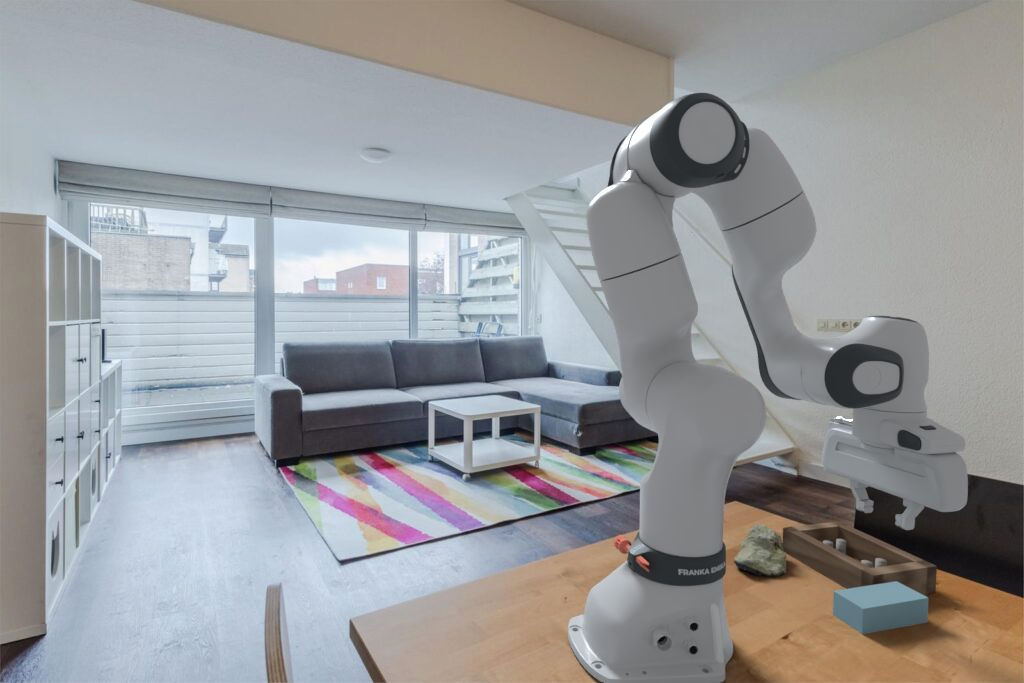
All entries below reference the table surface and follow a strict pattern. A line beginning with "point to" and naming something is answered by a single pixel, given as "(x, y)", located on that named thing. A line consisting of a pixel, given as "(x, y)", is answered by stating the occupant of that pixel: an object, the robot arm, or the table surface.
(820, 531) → the frame
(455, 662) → the table surface
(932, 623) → the table surface
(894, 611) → the light blue rectangular block
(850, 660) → the table surface
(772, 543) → the rock
